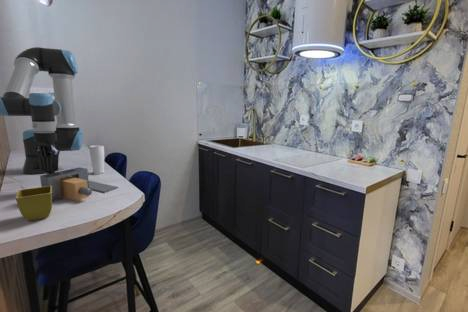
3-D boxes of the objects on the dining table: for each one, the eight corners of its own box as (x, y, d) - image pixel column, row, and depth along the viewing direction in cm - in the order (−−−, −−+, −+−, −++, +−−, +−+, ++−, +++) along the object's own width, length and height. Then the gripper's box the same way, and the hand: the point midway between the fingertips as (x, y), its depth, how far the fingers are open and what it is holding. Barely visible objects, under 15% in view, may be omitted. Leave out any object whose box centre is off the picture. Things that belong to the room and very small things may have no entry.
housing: (43, 199, 94) (40, 175, 92) (81, 188, 108) (79, 167, 106) (51, 202, 92) (47, 177, 90) (89, 190, 106) (87, 168, 104)
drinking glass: (108, 172, 134) (106, 146, 131) (96, 175, 128) (94, 147, 125) (101, 170, 137) (99, 144, 134) (89, 173, 131) (86, 146, 128)
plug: (50, 193, 101) (48, 177, 100) (62, 189, 106) (60, 174, 104) (83, 202, 93) (81, 185, 91) (95, 198, 97) (93, 181, 96)
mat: (71, 184, 112) (71, 183, 112) (85, 180, 119) (85, 179, 118) (104, 192, 104) (104, 191, 104) (118, 188, 110) (118, 186, 110)
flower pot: (19, 225, 74) (15, 198, 73) (22, 215, 81) (18, 189, 80) (54, 218, 79) (51, 192, 78) (54, 209, 86) (51, 185, 85)
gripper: (25, 131, 98) (32, 186, 103) (44, 133, 93) (51, 192, 98) (45, 130, 105) (51, 182, 110) (64, 132, 100) (70, 186, 105)
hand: (51, 186), depth 104 cm, fingers closed
